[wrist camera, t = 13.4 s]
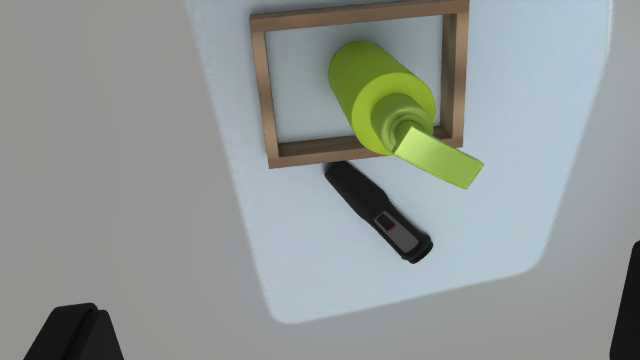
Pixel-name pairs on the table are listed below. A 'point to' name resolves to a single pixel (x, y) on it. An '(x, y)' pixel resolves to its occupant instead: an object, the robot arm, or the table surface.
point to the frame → (416, 3)
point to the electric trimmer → (378, 212)
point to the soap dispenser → (395, 112)
